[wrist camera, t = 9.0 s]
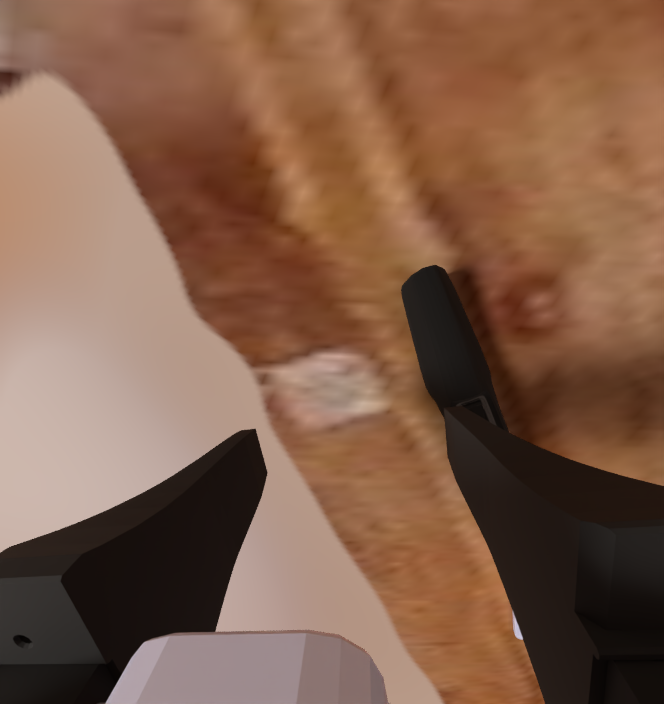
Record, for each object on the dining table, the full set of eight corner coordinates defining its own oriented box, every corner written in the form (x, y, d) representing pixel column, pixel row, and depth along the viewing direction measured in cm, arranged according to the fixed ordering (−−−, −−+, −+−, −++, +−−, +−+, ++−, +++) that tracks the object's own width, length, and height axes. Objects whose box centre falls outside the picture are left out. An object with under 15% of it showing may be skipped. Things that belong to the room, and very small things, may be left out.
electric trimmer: (448, 251, 17) (467, 249, 14) (522, 479, 20) (550, 517, 17) (383, 279, 18) (387, 283, 14) (465, 494, 21) (482, 534, 18)
